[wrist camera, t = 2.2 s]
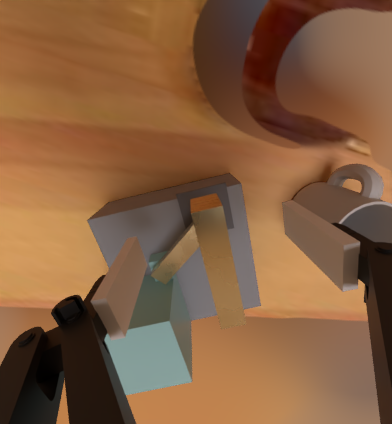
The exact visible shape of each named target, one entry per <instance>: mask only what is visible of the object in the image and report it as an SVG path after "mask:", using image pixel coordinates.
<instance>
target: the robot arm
mask: <svg viewBox="0 0 392 424" xmlns="http://www.w3.org/2000/svg"><path fill="white" fill-rule="evenodd" d="M282 206H283V217H284V227H285V234H286V235H287V236H288V237H289V238H290V239H291V240H292V241H293V242H294V243H295V244H296V245H297V246H298V247H299V248H300V249H301V250H302V251H303V252H304V253H305V254H306V255H307V256H308V257H309V258H310V259H311V260H312V261H313V262H314V263H315V264H316V265H317V266H318V267H319V268H320V269H321V270H322V271H323V272H324V273H325V274H326V275H327V276H328V277H329V278H330V279H331V280H332V281H333V282H334V283H335V284H336V285H337V286H338V287H339V288H340V289H341V290H342V291H343V292H344V291H348V290H353V289H358V279H359V280H361V281H362V282H363V283H364V284H365V293H364V302H365V303H366V306H367V314H368V322H369V330H370V339H371V347H372V356H373V364H374V372H375V381H376V389H377V397H378V405H379V414H380V422H381V424H392V243H387V242H373V241H372V240H370V239H368V238H366V237H365V236H363V235H361V234H359V233H357V232H356V231H354V230H351V228H349V227H347V226H345V225H343V224H339V223H329V222H327V221H325V220H324V219H322V218H321V217H319V216H317V215H316V214H314V213H312V212H311V211H309V210H307V209H306V208H304V207H303V206H301V205H299V204H298V203H296V202H294V201H293V200H290V201H286V202H282ZM146 268H147V262H146V260H145V257H144V254H143V252H142V249H141V246H140V244H139V241H138V238H137V236H136V237H131V238H127V240H126V242H125V243H124V245H123V247H122V248H121V250H120V252H119V254H118V255H117V257H116V259H115V260H114V262H113V264H112V266H111V267H110V269H109V271H108V272H107V274H106V275H102V276H101V277H100V278H99V279H98V280H97V281H96V282H95V284H94V285H93V287H92V289H91V290H90V292H89V294H88V295H87V296H86V298H85V299H84V301H83V300H82V298H81V297H80V296H79V295H73V296H70V297H67V298H65V299H64V300H62V301H61V302H59V303H58V304H57V305H56V306H55V307H54V308H53V310H52V312H51V314H52V316H53V317H54V319H55V320H56V322H57V324H58V325H59V326H58V327H56V328H54V329H52V330H50V331H47V332H44V330H43V329H42V328H41V327H34V328H31V329H29V330H28V331H25V332H24V333H23V334H21V335H20V336H19V337H18V338H17V339H16V340H15V341H14V342H13V343H12V345H11V346H10V348H9V350H8V352H7V354H6V356H5V358H4V360H3V362H2V364H1V366H0V424H56V421H57V416H58V410H59V404H60V399H61V394H62V389H63V383H64V378H65V387H66V396H67V406H68V415H69V423H70V424H136V422H135V419H134V417H133V414H132V411H131V409H130V406H129V403H128V400H127V398H126V395H125V392H124V390H123V387H122V384H121V382H120V379H119V376H118V373H117V371H116V368H115V365H114V363H113V360H112V357H111V355H110V352H109V349H108V347H107V344H106V342H105V337H106V335H107V333H108V335H109V337H110V339H111V340H116V339H121V338H125V336H126V333H127V330H128V327H129V323H130V320H131V317H132V314H133V310H134V307H135V304H136V301H137V297H138V294H139V291H140V288H141V284H142V281H143V278H144V275H145V271H146Z"/></svg>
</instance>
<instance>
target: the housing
mask: <svg viewBox="0 0 392 424" xmlns="http://www.w3.org/2000/svg"><path fill="white" fill-rule="evenodd" d="M214 193H216V194H217V196H218V198H219V200H220V201H221V203H222V205H223V210H224V215H225V220H226V225H227V230H228V235H229V240H230V245H231V250H232V255H233V260H234V265H235V270H236V275H237V280H238V285H239V290H240V295H241V300H242V305H243V310H244V309H248V308H253V307H258V306H261V304H260V297H259V291H258V285H257V279H256V272H255V266H254V260H253V254H252V247H251V241H250V235H249V229H248V222H247V216H246V210H245V204H244V198H243V191H242V185H241V183H240V182H239V181H238V180H237V179H236V178H234V177H233V176H232V175H231V174H230V173H228V174H224V175H220V176H216V177H212V178H208V179H204V180H199V181H195V182H191V183H187V184H183V185H179V186H175V187H170V188H166V189H162V190H158V191H154V192H150V193H146V194H141V195H137V196H133V197H129V198H125V199H121V200H117V201H112V202H108V203H107V204H106V205H105V206H104V207H102V208H101V209H100V210H99V211H98V212H96V213H95V214H94V215H93V216H92V217H90V218H89V219H88V220H87V221H88V223H89V225H90V227H91V230H92V232H93V234H94V236H95V238H96V241H97V243H98V245H99V247H100V249H101V252H102V254H103V256H104V258H105V260H106V262H107V265H108V267H109V269H110V267H111V266H112V264H113V262H114V260H115V259H116V257H117V255H118V254H119V252H120V250H121V248H122V247H123V245H124V243H125V242H126V240H127V238H131V237H136V236H137V238H138V241H139V244H140V246H141V249H142V252H143V254H144V257H145V260H146V262H147V268H146V271H145V275H144V276H147V275H151V272H152V271H151V268H150V265H149V263H148V262H149V259H150V256H151V255H152V254H156V253H161V252H165V251H168V250H169V249H170V248H171V247H172V245H173V244H174V243H175V242H176V241H177V240H178V238H179V237H180V236H181V235H182V234H183V232H184V231H185V230H186V229H187V228H188V226H189V225H190V224H191V223H192V222H193V219H192V216H191V205H190V199H193V198H197V197H202V196H206V195H210V194H214ZM176 276H177V279H178V282H179V285H180V288H181V291H182V294H183V297H184V300H185V303H186V307H187V310H188V313H189V316H190V319H191V321H192V320H196V319H201V318H206V317H210V316H215V315H217V311H216V307H215V304H214V300H213V296H212V292H211V288H210V284H209V281H208V277H207V273H206V269H205V265H204V262H203V258H202V254H201V250H200V246H199V248H198V249H197V250H196V251H195V252H194V253H193V254H192V255H191V257H190V258H189V259H188V260H187V261H186V262H185V263H184V264H183V266H182V267H181V268H180V269H179V270H178V271H177V272H176Z"/></svg>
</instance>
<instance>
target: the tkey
mask: <svg viewBox="0 0 392 424" xmlns="http://www.w3.org/2000/svg"><path fill="white" fill-rule="evenodd" d="M190 205H191V216H192V219H193V222H192V223H191V224H190V225H189V226H188V228H187V229H186V230H185V231H184V232H183V234H182V235H181V236H180V237H179V238H178V240H177V241H176V242H175V243H174V244H173V245H172V247H171V248H170V249H169V250H168V251H167V253H166V254H165V255H164V256H163V257H162V259H161V260H160V261H159V262H158V263H157V265H156V266H155V267H154V268H153V269H152V272H151V276H152V277H153V278H155V279H157V280H158V281H160V282H162V283H163V284H165V285H166V284H167V282H168V281H169V280H170V279H171V278H172V277H173V276H174V275H175V273H176V272H177V271H178V270H179V269H180V268H181V267H182V266H183V264H184V263H185V262H186V261H187V260H188V259H189V258H190V257H191V255H192V254H193V253H194V252H195V251H196V250H197V249H198V248H199V246H200V250H201V254H202V258H203V262H204V265H205V269H206V273H207V277H208V281H209V284H210V288H211V292H212V296H213V300H214V304H215V307H216V311H217V315H218V319H219V323H220V327H221V329H225V328H230V327H235V326H240V325H245V324H246V320H245V315H244V310H243V305H242V300H241V295H240V290H239V285H238V280H237V275H236V270H235V265H234V260H233V255H232V250H231V245H230V240H229V235H228V230H227V225H226V220H225V215H224V210H223V205H222V203H221V201H220V200H219V198H218V196H217V194H216V193H214V194H210V195H206V196H202V197H197V198H193V199H190Z"/></svg>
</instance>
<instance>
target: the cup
mask: <svg viewBox="0 0 392 424" xmlns="http://www.w3.org/2000/svg"><path fill="white" fill-rule="evenodd" d="M347 179H355V180H358V181H360V182H361V184H362V190H361V192H360V193H358V192H355V191H352V190H349V189H346V188H343V187H342V185H343V183H344V182H345V180H347ZM383 187H384V184H383V181H382V177H381V176H380V175H379V174H378V173H377V172H376V171H375V170H374V169H372V168H370V167H368V166H366V165H362V164H349V165H345V166H342V167H340V168H338V169H336V170H335V171H334V172H333V173H332V174H331V176H330V177H329V179H328V181H327V182H317V183H313V184H310V185H308V186H306V187H304V188H303V189H302V190H301V191H299V192H298V193H297V195H296V196H295V197H294V199H293V201H294V202H296V203H298V204H299V205H301V206H303V207H304V208H306V209H307V210H309V211H311V212H312V213H314V214H316V215H317V216H319V217H321V218H322V219H324V220H325V221H327V222H329V223H339V224H343V225H345V226H347V227H349V228H351V230H354V231H356V232H357V233H359V234H361V235H363V236H365V237H366V238H368V239H370V240H372V241H373V242H387V243H392V204H391V203H388V202H385V201H382V200H380V198H381V196H382V193H383Z"/></svg>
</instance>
